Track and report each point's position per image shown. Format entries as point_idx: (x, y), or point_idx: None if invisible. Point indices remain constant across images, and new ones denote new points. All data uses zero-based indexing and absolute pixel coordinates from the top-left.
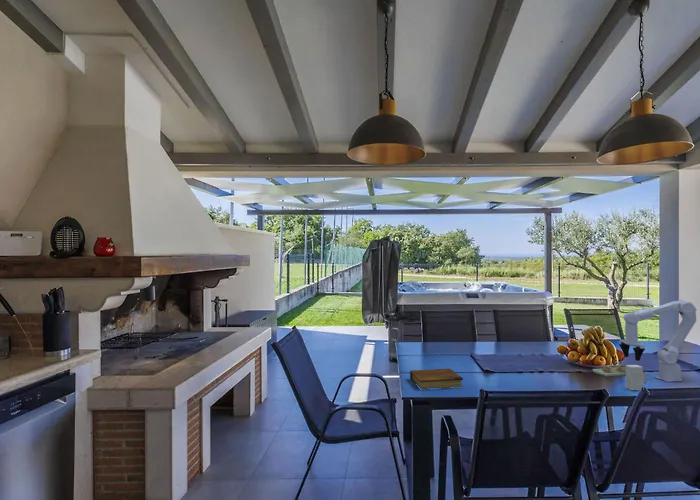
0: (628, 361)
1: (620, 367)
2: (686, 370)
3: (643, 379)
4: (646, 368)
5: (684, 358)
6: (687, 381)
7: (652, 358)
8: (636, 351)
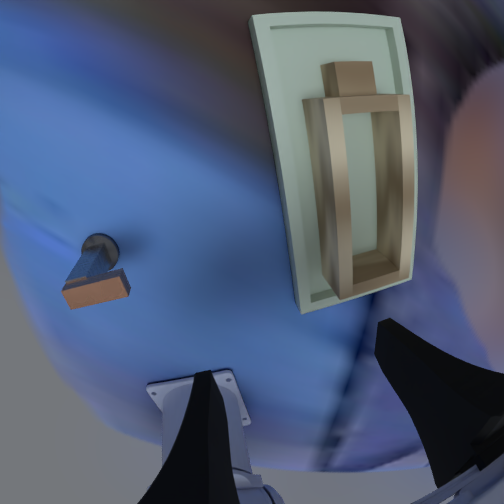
0: (470, 351)
1: (345, 219)
2: (324, 462)
3: (81, 259)
4: (385, 384)
5: (411, 459)
6: None
7: None
8: (150, 492)
